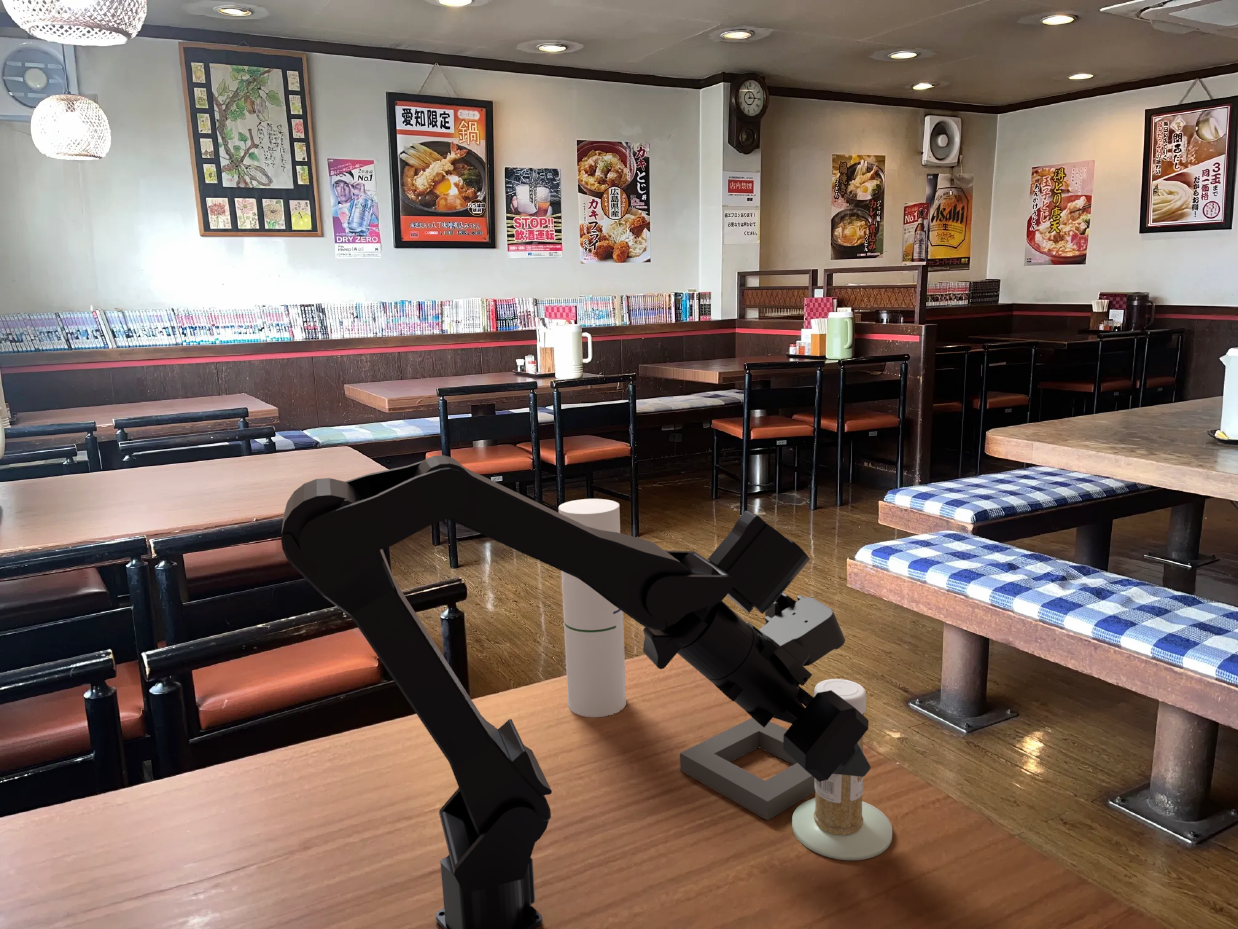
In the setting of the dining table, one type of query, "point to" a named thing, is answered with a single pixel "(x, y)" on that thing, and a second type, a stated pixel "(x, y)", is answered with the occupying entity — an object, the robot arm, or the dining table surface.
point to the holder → (736, 783)
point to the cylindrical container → (593, 627)
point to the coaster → (843, 847)
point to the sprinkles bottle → (841, 792)
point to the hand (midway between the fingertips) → (836, 746)
